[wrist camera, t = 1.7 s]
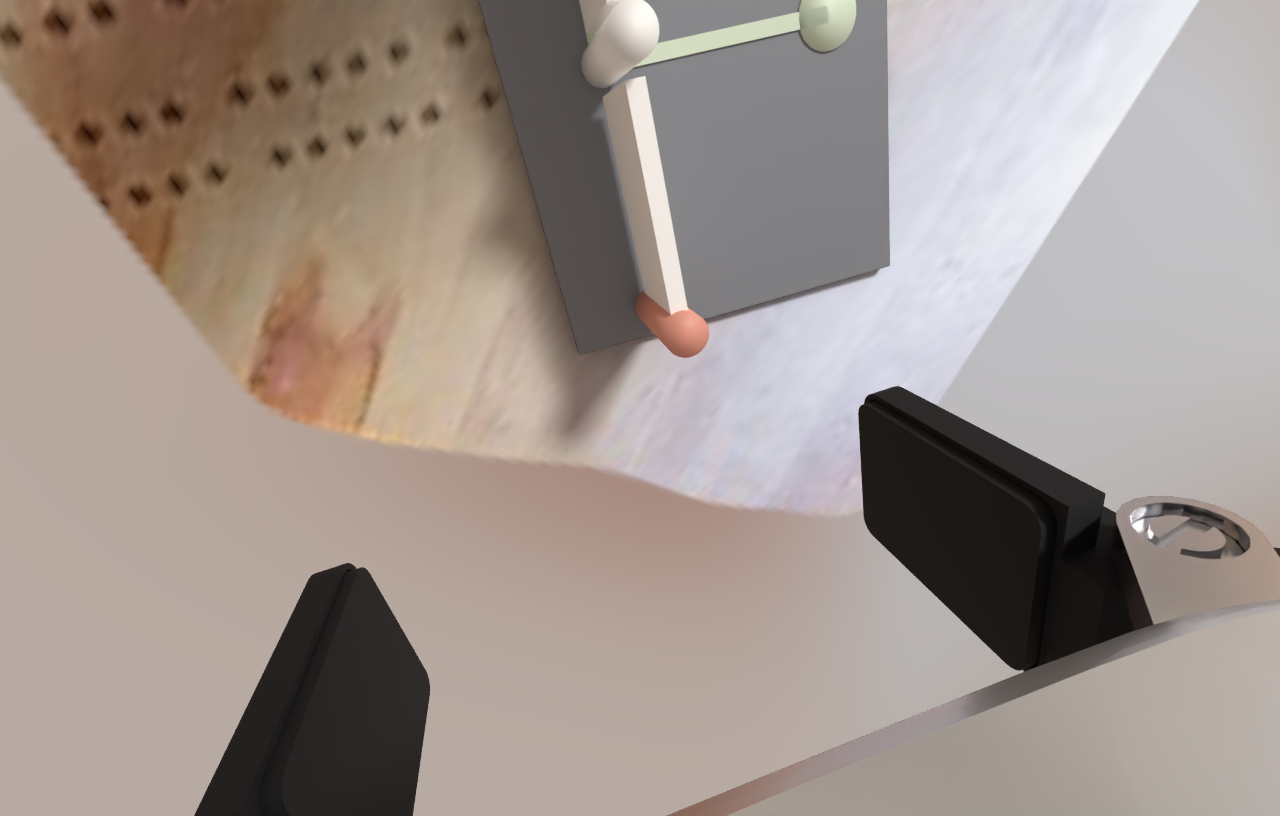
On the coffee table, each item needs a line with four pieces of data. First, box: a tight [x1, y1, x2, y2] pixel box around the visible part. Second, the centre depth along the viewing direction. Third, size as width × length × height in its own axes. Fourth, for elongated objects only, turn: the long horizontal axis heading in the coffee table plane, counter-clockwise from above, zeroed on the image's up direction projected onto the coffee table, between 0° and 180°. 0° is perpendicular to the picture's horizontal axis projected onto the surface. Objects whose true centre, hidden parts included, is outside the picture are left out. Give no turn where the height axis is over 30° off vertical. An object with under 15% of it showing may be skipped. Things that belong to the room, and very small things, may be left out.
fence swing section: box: [602, 76, 709, 358], centre depth 24 cm, size 11×2×6 cm, turn 13°
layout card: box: [479, 0, 890, 355], centre depth 25 cm, size 26×19×1 cm
